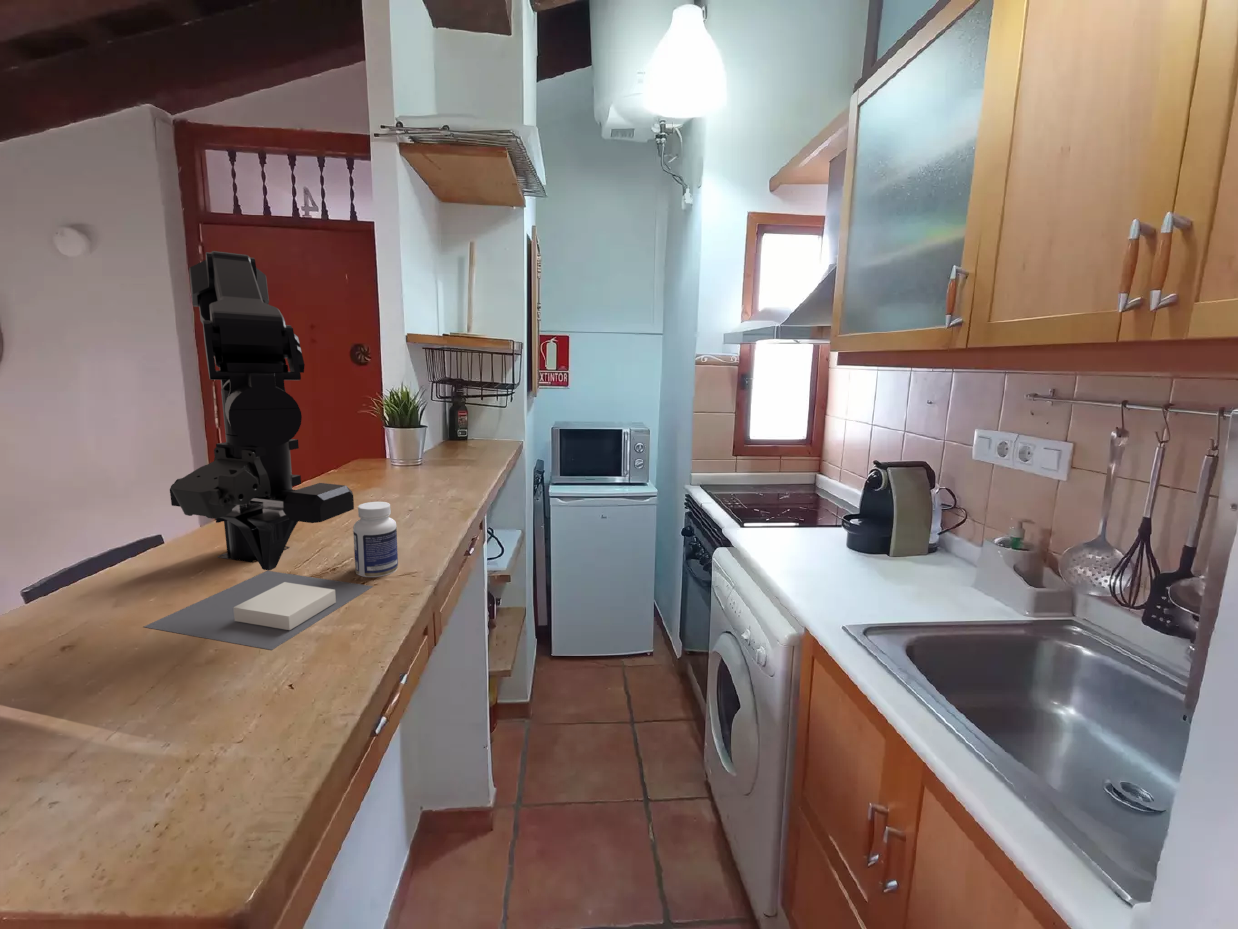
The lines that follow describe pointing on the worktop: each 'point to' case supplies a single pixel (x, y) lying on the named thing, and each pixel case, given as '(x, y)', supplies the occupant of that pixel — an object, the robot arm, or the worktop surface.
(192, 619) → the mat
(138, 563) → the worktop surface
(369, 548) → the pill bottle
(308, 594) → the tile
